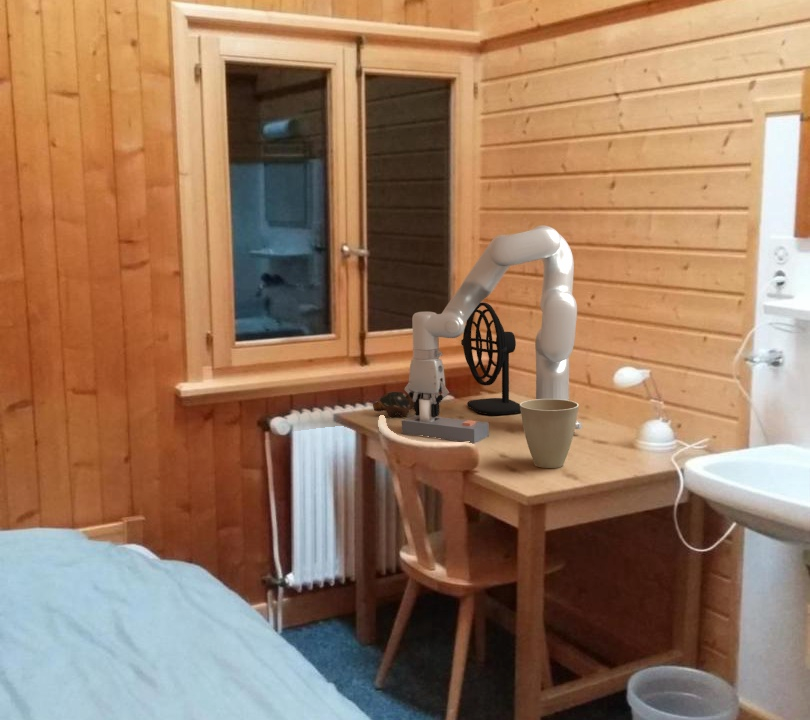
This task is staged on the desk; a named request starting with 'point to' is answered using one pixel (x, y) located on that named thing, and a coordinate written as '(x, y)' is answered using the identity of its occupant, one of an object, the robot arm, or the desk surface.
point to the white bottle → (425, 408)
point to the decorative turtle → (394, 404)
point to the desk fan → (490, 362)
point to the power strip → (446, 428)
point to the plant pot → (549, 429)
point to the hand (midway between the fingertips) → (426, 414)
